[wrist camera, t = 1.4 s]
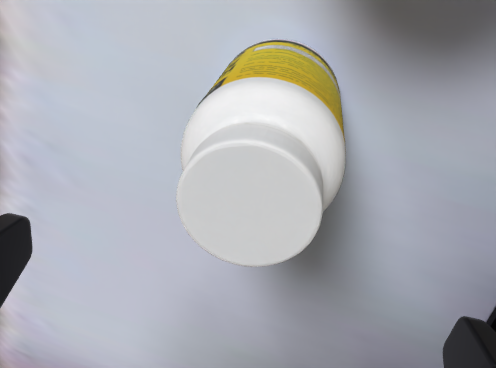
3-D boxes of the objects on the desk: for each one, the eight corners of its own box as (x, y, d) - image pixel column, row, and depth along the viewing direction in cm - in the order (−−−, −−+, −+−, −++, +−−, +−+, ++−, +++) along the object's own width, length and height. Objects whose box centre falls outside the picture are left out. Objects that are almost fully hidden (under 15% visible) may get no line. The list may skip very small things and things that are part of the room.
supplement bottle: (233, 22, 19) (164, 86, 10) (355, 54, 19) (387, 145, 10) (211, 135, 22) (141, 260, 13) (318, 163, 22) (318, 307, 13)
